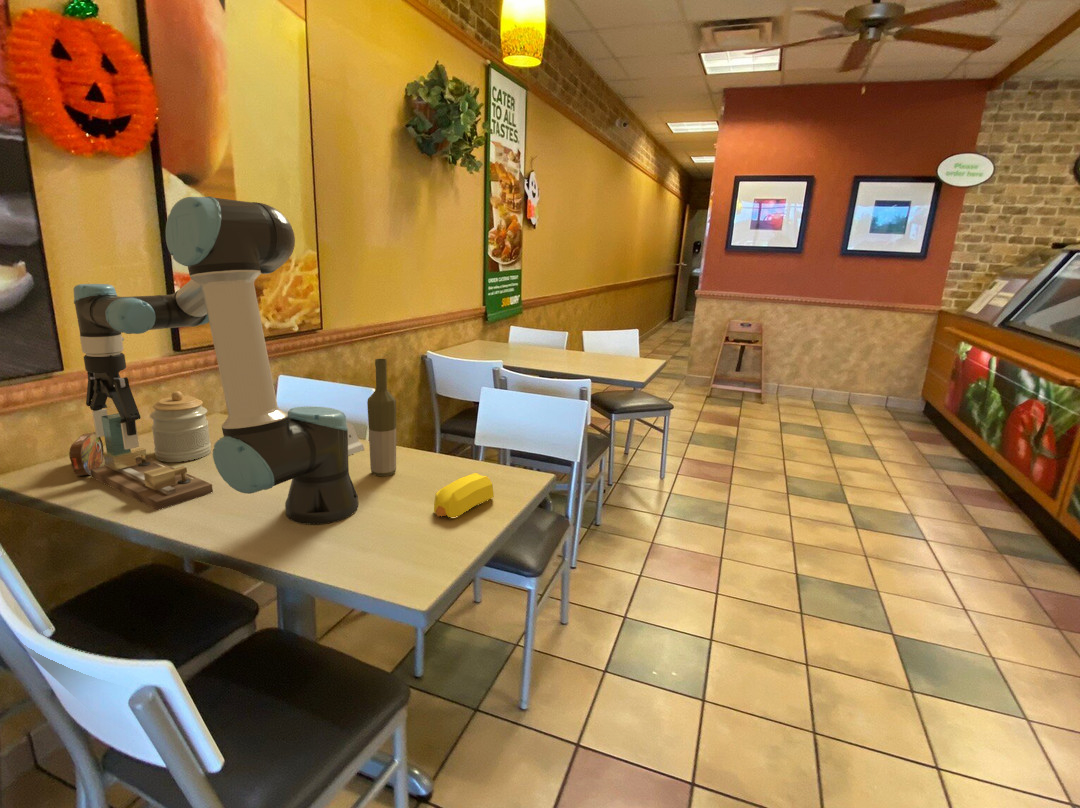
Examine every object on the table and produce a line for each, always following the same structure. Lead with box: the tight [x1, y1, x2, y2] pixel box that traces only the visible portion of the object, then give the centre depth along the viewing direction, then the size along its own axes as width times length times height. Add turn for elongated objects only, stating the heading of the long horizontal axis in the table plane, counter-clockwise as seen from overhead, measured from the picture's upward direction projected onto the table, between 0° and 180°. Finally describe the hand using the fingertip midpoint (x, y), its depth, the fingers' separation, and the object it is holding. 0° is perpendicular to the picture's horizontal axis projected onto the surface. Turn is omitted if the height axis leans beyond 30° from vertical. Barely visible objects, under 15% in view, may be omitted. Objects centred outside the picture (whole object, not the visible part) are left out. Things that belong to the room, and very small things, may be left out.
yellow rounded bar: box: [433, 472, 495, 518], centre depth 132 cm, size 18×7×8 cm
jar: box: [149, 390, 212, 463], centre depth 153 cm, size 13×13×18 cm
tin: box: [68, 431, 105, 477], centre depth 142 cm, size 15×3×8 cm, turn 22°
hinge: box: [346, 422, 365, 457], centre depth 159 cm, size 17×5×10 cm, turn 154°
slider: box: [101, 412, 147, 470], centre depth 138 cm, size 5×8×13 cm, turn 149°
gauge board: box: [90, 455, 214, 511], centre depth 135 cm, size 30×12×6 cm, turn 59°
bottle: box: [366, 358, 397, 477], centre depth 145 cm, size 7×7×30 cm
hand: (117, 441), depth 136 cm, fingers open, 13 cm apart
